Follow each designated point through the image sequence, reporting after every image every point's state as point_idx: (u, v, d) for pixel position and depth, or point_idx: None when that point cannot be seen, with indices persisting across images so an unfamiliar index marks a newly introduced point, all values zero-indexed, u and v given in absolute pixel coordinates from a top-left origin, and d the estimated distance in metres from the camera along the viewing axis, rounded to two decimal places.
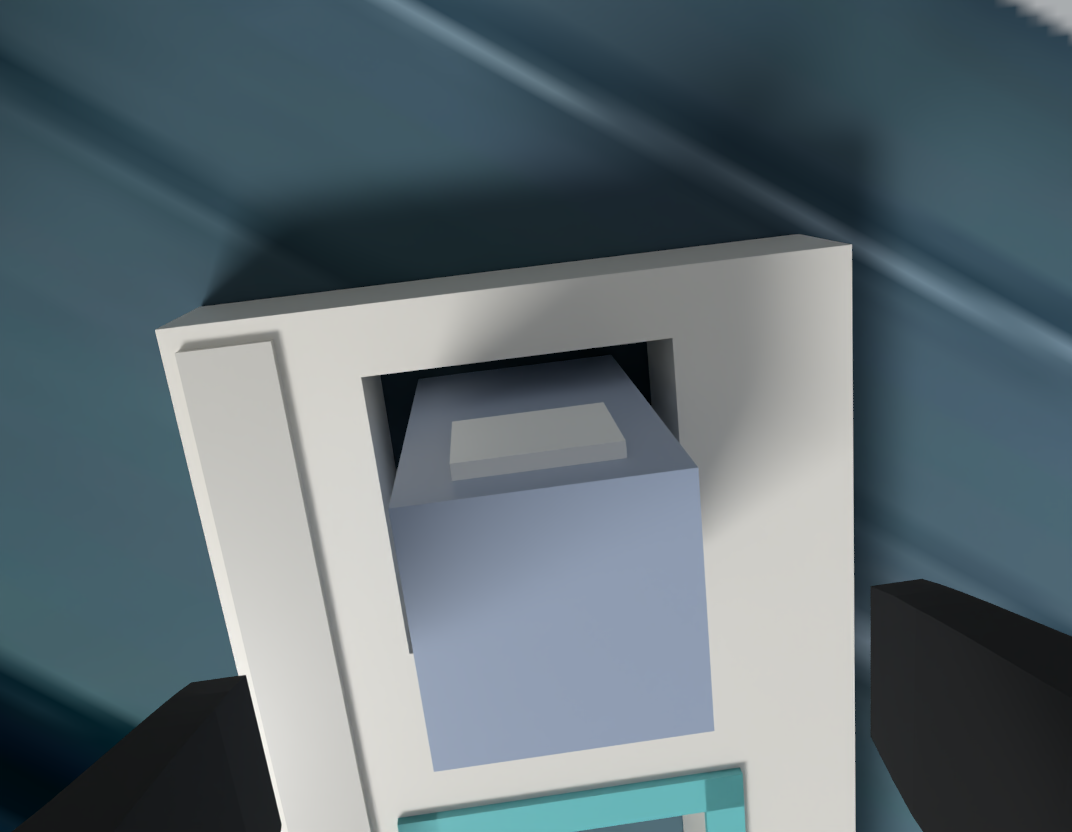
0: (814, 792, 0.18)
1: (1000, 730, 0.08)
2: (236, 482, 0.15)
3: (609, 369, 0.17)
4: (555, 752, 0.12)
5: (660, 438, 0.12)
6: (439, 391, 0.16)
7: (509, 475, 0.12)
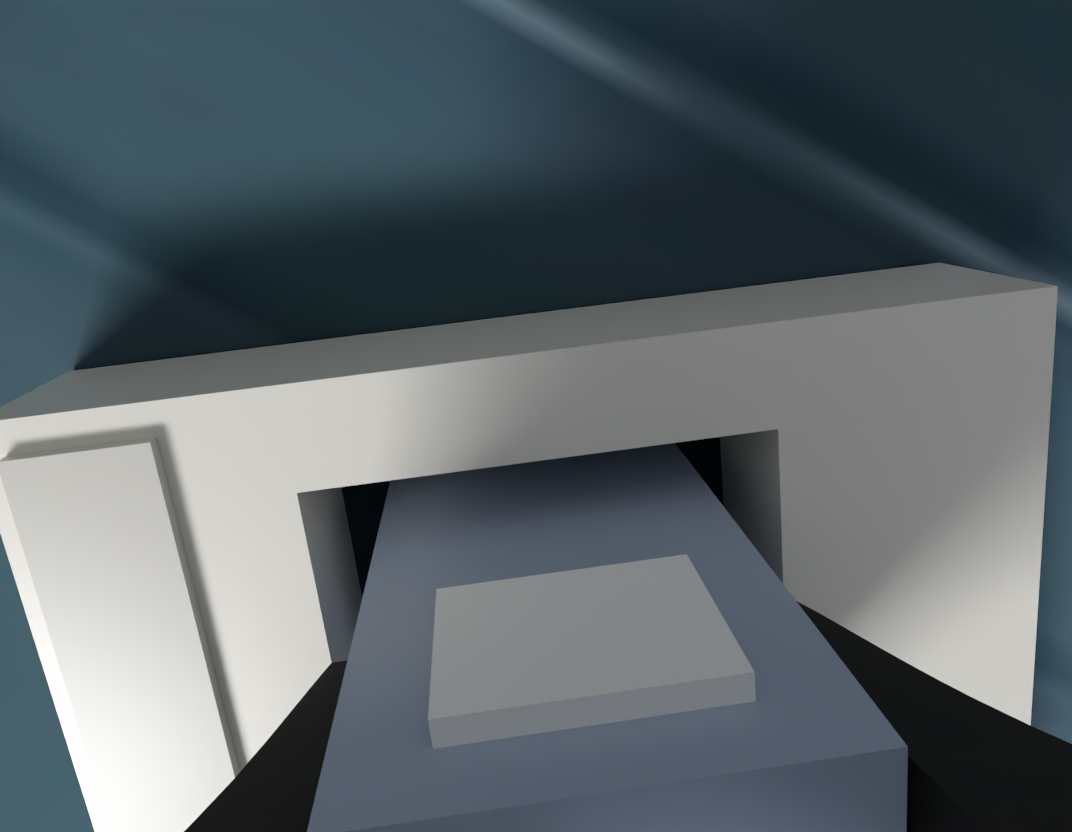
0: None
1: None
2: (105, 654, 0.10)
3: (672, 464, 0.11)
4: None
5: (802, 644, 0.07)
6: (421, 499, 0.11)
7: (540, 740, 0.06)
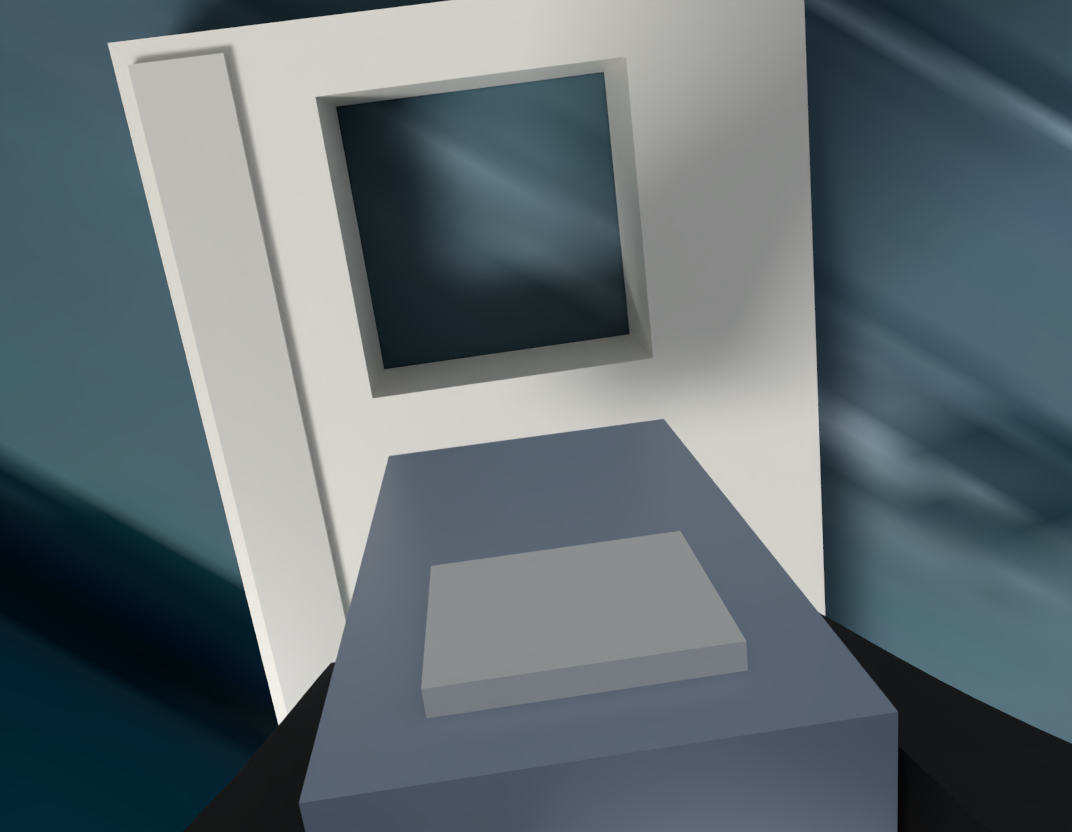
0: (782, 553, 0.18)
1: None
2: (193, 206, 0.15)
3: (667, 447, 0.11)
4: None
5: (794, 616, 0.07)
6: (417, 482, 0.11)
7: (533, 711, 0.06)
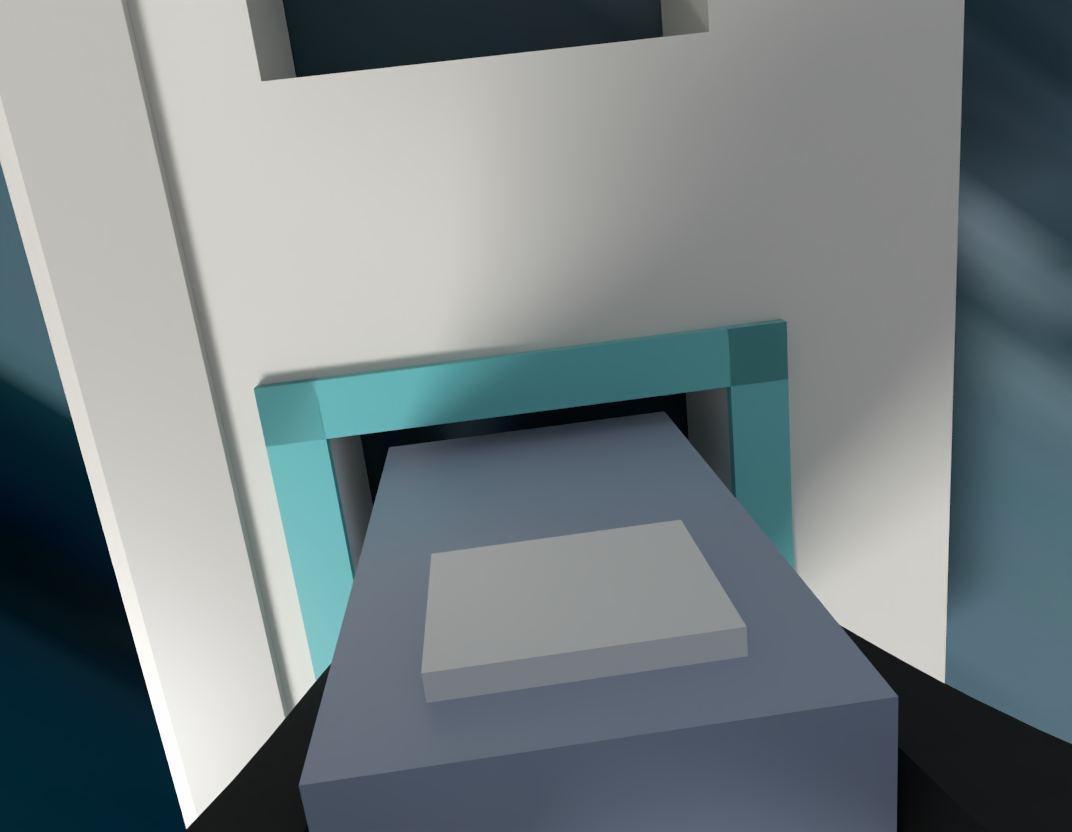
0: (893, 369, 0.12)
1: None
2: None
3: (668, 439, 0.11)
4: None
5: (795, 604, 0.07)
6: (417, 473, 0.11)
7: (533, 694, 0.06)
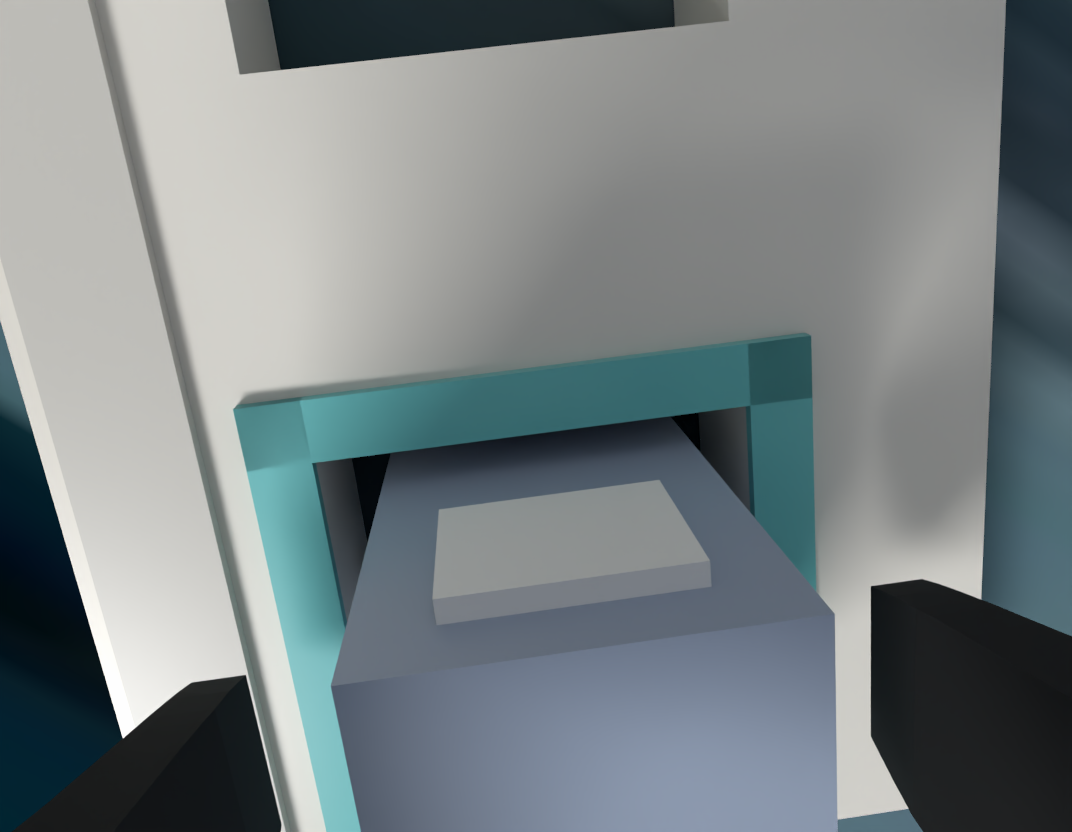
0: (924, 386, 0.11)
1: (1001, 730, 0.08)
2: None
3: None
4: None
5: (755, 546, 0.08)
6: None
7: (527, 618, 0.07)
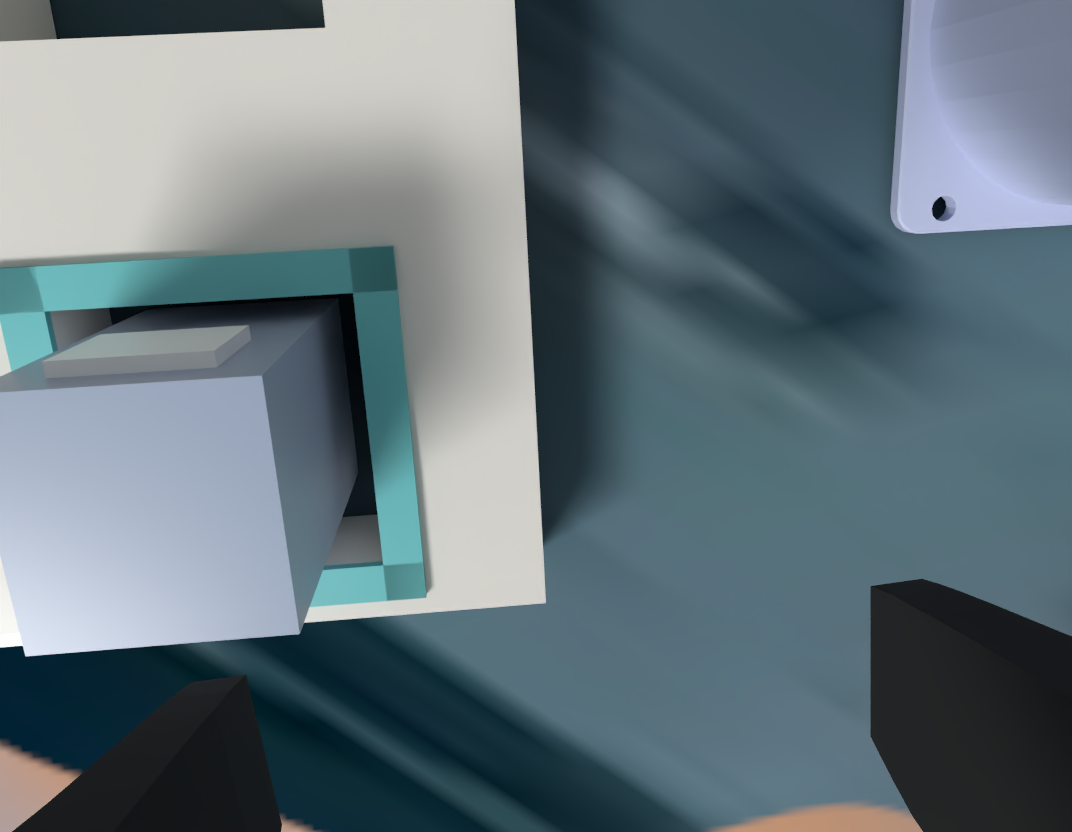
0: (482, 290, 0.16)
1: (1000, 730, 0.08)
2: None
3: (317, 307, 0.17)
4: (145, 645, 0.13)
5: (268, 355, 0.13)
6: (149, 318, 0.17)
7: (99, 376, 0.12)
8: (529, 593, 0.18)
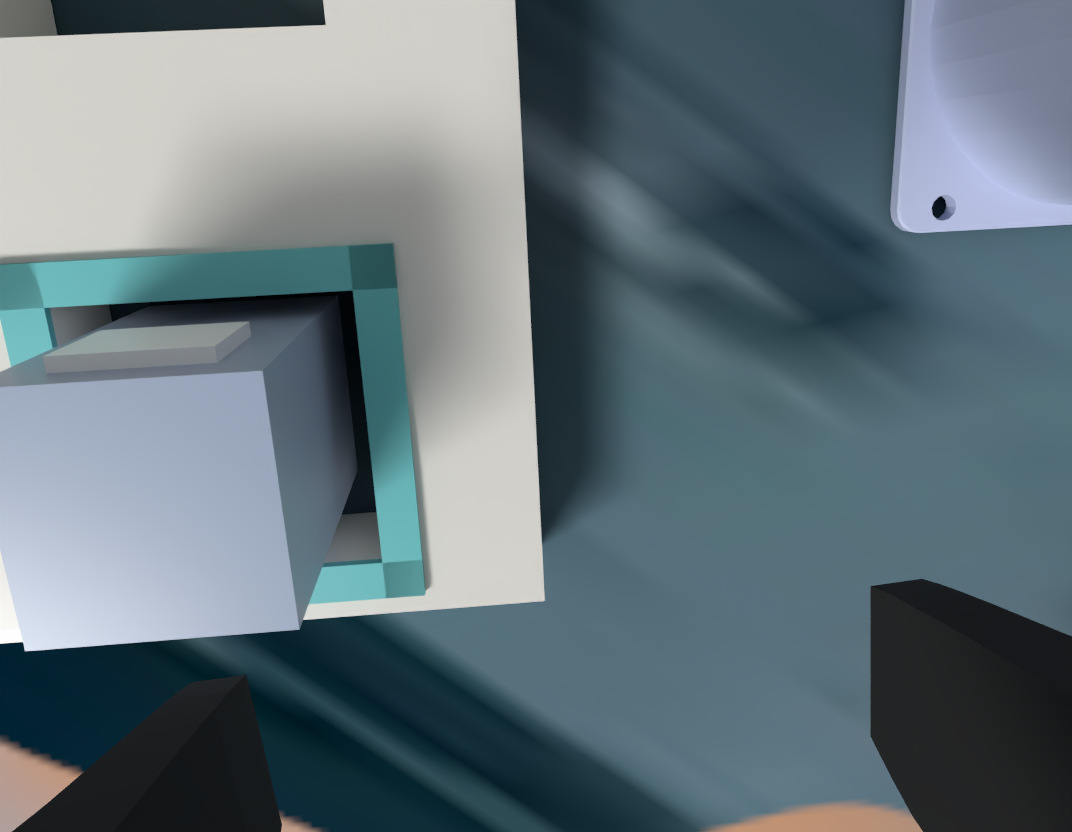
0: (482, 287, 0.16)
1: (1000, 730, 0.08)
2: None
3: (317, 305, 0.17)
4: (145, 640, 0.13)
5: (269, 351, 0.13)
6: (149, 315, 0.17)
7: (100, 371, 0.12)
8: (528, 591, 0.18)
